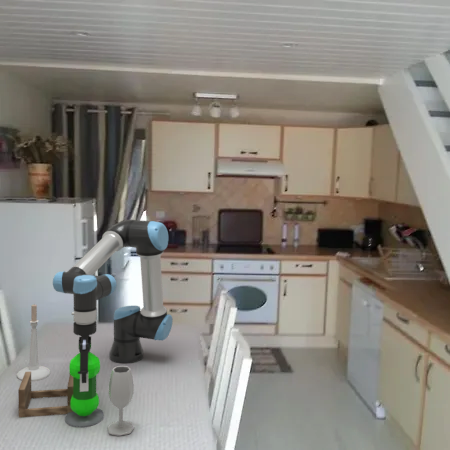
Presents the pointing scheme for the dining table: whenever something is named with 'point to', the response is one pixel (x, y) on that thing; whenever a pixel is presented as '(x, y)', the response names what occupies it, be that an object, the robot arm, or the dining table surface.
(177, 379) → the dining table surface
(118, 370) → the wineglass
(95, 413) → the slate coaster
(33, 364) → the candlestick
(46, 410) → the walnut cradle
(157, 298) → the robot arm
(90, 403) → the plastic bottle
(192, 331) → the dining table surface
